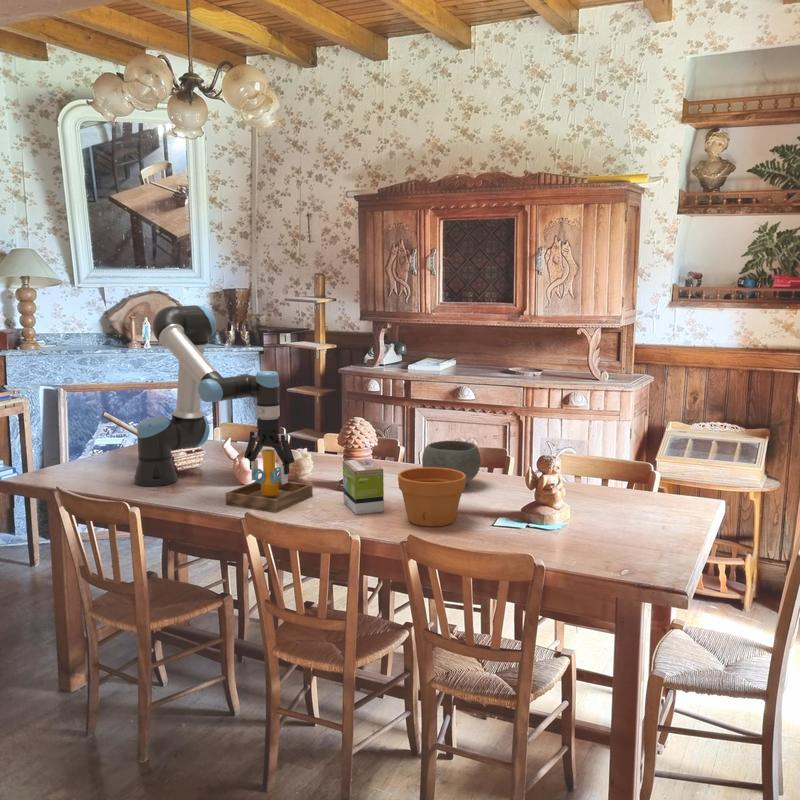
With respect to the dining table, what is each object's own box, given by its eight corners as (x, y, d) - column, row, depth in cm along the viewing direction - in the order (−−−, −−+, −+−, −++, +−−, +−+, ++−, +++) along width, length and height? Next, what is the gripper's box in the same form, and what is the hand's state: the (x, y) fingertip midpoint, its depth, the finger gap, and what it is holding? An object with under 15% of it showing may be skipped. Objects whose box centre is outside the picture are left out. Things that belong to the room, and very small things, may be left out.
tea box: (342, 502, 281) (341, 459, 279) (370, 500, 284) (370, 457, 282) (354, 515, 267) (354, 469, 265) (384, 512, 270) (384, 467, 268)
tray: (226, 504, 278) (225, 492, 277) (264, 489, 297) (264, 478, 297) (276, 512, 269) (275, 500, 269) (312, 496, 289) (312, 484, 288)
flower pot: (403, 509, 274) (404, 464, 271) (468, 512, 270) (468, 467, 268) (392, 528, 253) (392, 480, 251) (461, 532, 249) (462, 484, 247)
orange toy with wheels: (291, 490, 288) (290, 447, 285) (284, 498, 277) (283, 454, 275) (256, 489, 289) (255, 447, 286) (248, 497, 278) (246, 453, 276)
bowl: (453, 475, 318) (454, 437, 316) (492, 487, 302) (493, 446, 299) (410, 484, 305) (410, 443, 303) (447, 496, 289) (448, 453, 287)
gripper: (232, 416, 281) (234, 479, 284) (292, 422, 270) (293, 488, 274) (246, 413, 287) (247, 475, 291) (304, 418, 277) (305, 482, 280)
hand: (269, 481), depth 282 cm, fingers open, 11 cm apart
